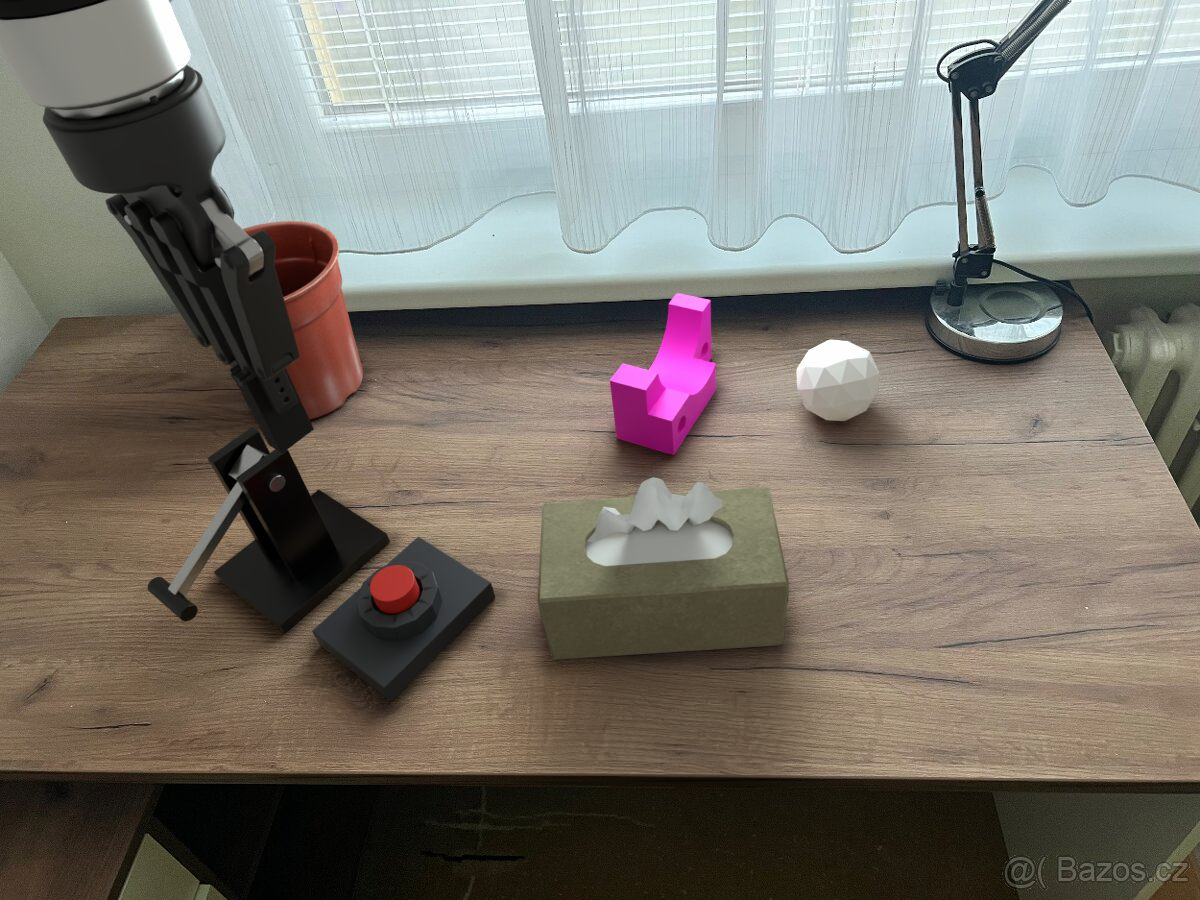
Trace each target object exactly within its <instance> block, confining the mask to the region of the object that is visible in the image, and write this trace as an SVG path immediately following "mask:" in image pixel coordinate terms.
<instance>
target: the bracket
mask: <svg viewBox="0 0 1200 900" xmlns="http://www.w3.org/2000/svg"><path fill="white" fill-rule="evenodd" d="M246 445H249V446H251V447H253V448H256V449H258V450H260V451H262V452H264V453H266V454H268V455H267V456H265V457H264V458H262V459H261V460H260V461H258V462H257V463H256V464H254V465H253V466H252V467H250V468H249V469H247V470H246V471H245V472H243V473H242V474H241V475H239V476H238V477H236V479H237V480H236V479H235V478H233V477H232V476H230V475H229V474H228V473H229V472H230V470H231V469H232V467H233V465H234V464H235V462H236V461H237V459H238V458H239V456H240V455H241V453H242V452H243V450H244V449H245V447H246ZM207 460H208V461H207V462H209V464H210V466H211V467H212V469H213V471H214V472H215V474H216V476H217V478H218V479H219V481H220V483H221V485H222V486H223V488H224V490H225V491H226V493H227V496H228V495H229V493H230V492H231V490H232V489H233V487H234V486H235V484H236V482H237V481H238V483H239V485H240V487H241V488H242V490H243V492H244V494H245V495H246V497H247V501H246V502H245V504H244V505H243V507H242V508H241V510H240V511H239V513H238V514H239V515H240V517H241V518H242V520H243V522H244V524H245V525H246V527H247V529H248V530H249V532H250V534H251V536H252V537H253V540H252V541H251V542H250V543H249V544H247V545H246V546H244V547H243V548H242V549H241V550H240V551H238V552H237V553H235V555H233V556H232V557H231V558H229V559H228V560H227V561H226V562H224V563H223V564H222V565H221V566H220V567H218V568H217V569H216V570H214V571H213V573H214V576H215V577H216V578H217V579H218V581H219V582H220V583H222V584H223V585H224V586H225V587H227V588H228V589H229V590H230V591H232V593H234V594H235V595H237V596H238V597H239V598H240V599H241V600H243V601H244V602H246V604H248V605H249V606H250V607H251V608H253V609H254V610H255V611H256V612H258V613H259V614H260V615H261V616H263V617H264V618H265V619H266V620H267V621H268V622H270V623H271V624H273V625H274V626H275V627H276V628H277V629H279V630H280V631H281V632H282V633H284V634H286V633H287V632H289V631H290V630H291V629H292V628H294V626H296V625H297V624H298V623H300V621H302V619H304V618H305V617H306V616H307V615H308V614H310V612H312V611H313V610H314V609H315V608H316V607H318V605H320V604H321V603H323V601H324V600H325V599H327V598H328V597H329V596H330V595H331V594H332V593H334V591H336V590H337V589H338V588H339V587H341V585H342V584H344V583H345V582H346V581H347V580H349V579H350V578H351V577H352V576H353V575H354V574H356V572H358V571H359V570H360V569H361V568H362V567H363V566H364V565H365V564H367V563H368V562H369V561H370V560H371V559H373V558H374V557H375V556H376V555H377V554H379V553H380V552H381V551H382V550H383V549H385V547H386V546H387V545H389V544H390V543H391V540H390V537H389V535H388V533H387V532H385V531H384V530H382V529H381V528H379V527H377V526H376V525H374V524H373V523H371V522H370V521H368V520H367V519H365V518H364V517H362V516H361V515H359V514H358V513H356V512H354V511H353V510H351V508H348V507H346V506H345V505H344V504H342V503H341V502H339V501H337V500H336V499H335V498H334V497H333V498H332V497H331V496H330V495H328V494H327V493H326V492H324V491H322V490H320V489H317V490H316V491H315V492H313V493H312V494H310V491H309V489H308V487H307V485H306V483H305V481H304V479H303V477H302V475H301V473H300V471H299V469H298V467H297V465H296V463H295V460H294V459H293V457H292V455H291V453H290V451H289V449H287V450H286V451H285V452H283V453H280V452H279V451H277V450H276V449H273V450H272V451H271V452H270V450H269V448H268V446H267V444H266V442H265V440H264V438H263V436H262V434H261V431H259V430H258V429H256V428H255V427H253V426H251V427H249V428H247V429H246V430H245V431H244V432H242V433H241V434H240V435H238V436H236V437H235V438H234V439H232V440H231V441H230V442H228V443H227V444H225V445H224V446H222V447H221V448H220V449H218V450H217V451H215V452H214V453H212V454H211V455H210V456H208V457H207Z"/></svg>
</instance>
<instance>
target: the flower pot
mask: <svg viewBox="0 0 1200 900" xmlns="http://www.w3.org/2000/svg"><path fill="white" fill-rule="evenodd" d="M242 229H243V230H244V231H245V232H246V233H247V234H248V235H249V236H251V235H253V234H254V233H256V232H258V231H260V230H263V231H265V232H267V233H268V235H269V236H270V237H271V238H272V240H273V242H274V244H275V248H276V252H275V269H276V273H277V276H278V280H279V283H280V287H281V290H282V294H283V298H284V301H285V305H286V308H287V312H288V315H289V319H290V322H291V326H292V329H293V333H294V337H295V340H296V344H297V347H298V351H299V354H300V358H299V359H298V360H296V361H295V362H293V363H292V364H290V365H289V366H288V367H286V370H287V372H288V374H289V376H290V378H291V380H292V383H293V385H294V387H295V389H296V391H297V393H298V395H299V398H300V400H301V402H302V404H303V406H304V408H305V411H306V413H307V415H308V417H309V419H310V420H313V419H317V418H320V417H323V416H325V415H328V414H330V413H332V412H334V411H335V410H337V409H339V408H340V407H342V406H343V405H344V404H345V402H346V400H347V398H349V396H350V395H352V394H355V393H357V391H358V390H359V388H360V387H361V385H362V381H363V377H364V370H363V369H364V368H363V365H362V362H361V359H360V354H359V350H358V346H357V343H356V338H355V335H354V332H353V327H352V324H351V320H350V316H349V313H348V308H347V304H346V300H345V297H344V292H343V289H342V286H343V277H342V272H341V268H340V265H339V255H340V246H339V241H338V239H337V237H336V235H335V234H334V233H333V232H332V231H331V230H330V229H328V228H326V227H324V226H322V225H319V224H316V223H315V222H309V221H303V220H301V221H300V220H299V221H298V220H282V221H281V220H280V221H274V222H273V221H271V222H266V223H260V224H256V225H252V226H248V227H245V228H242ZM228 366H229V368H230V369H231V368H232V367H231V365H230V364H229V365H228Z"/></svg>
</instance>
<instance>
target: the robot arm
mask: <svg viewBox="0 0 1200 900" xmlns="http://www.w3.org/2000/svg"><path fill="white" fill-rule="evenodd" d="M172 2H173V0H0V51H1V53H2V55H3V57H4V58H5V61H6V62H7V64H8V66H9V68H10V69H11V72H12V73H13V75H14V76H15V78H16V80H17V81H18V83H19V85H20V87H21V89H22V90H23V92H24V95H25V96H26V98H27V99H28V100H29V101H31V102H32V103H33V104H35V105H38V106H41V107H43V108H44V112H43V116H42V122H43V124H44V126H45V128H46V129H47V131H48V133H49V135H50V137H51V138H52V140H53V142H54V144H55V145H56V147H57V148H58V149H57V150H58V151H59V152H60V154H61V155H62V158H63V160H64V161H65V163H66V164H67V166H68V168H69V170H70V172H71V173H72V175H73V177H74V178H75V180H76V181H77V182H78V183H79V184H80V185H81V186H83V187H85V188H86V189H88V190H91V191H93V192H97V193H102V194H112V195H113V196H110V197H108V198H106V199H105V204H106V205H105V206H106V207H107V210H108V212H109V213H110V214H111V215H113V217H114V218H115V219H116V220H117V222H118V223H119V224H120V225H121V227H122V228H123V229H124V230H125V232H126V233H127V234H128V235H129V237H130V238H131V240H132V241H133V243H134V245H135V246H136V247H137V249H138V251H139V252H140V253H141V255H142V257H143V258H144V260H145V262H146V263H147V264H148V266H149V267H150V269H151V271H152V272H153V274H154V275H155V277H156V279H157V280H158V281H159V283H160V284H161V286H162V288H163V289H164V291H165V292H166V294H167V296H168V297H169V299H171V302H172V303H173V305H174V306H175V308H176V309H177V311H178V312H179V314H180V316H181V317H182V318H183V320H184V322H185V323H186V325H187V326H188V328H189V329H190V331H191V333H192V334H193V335H194V337H195V339H196V342H197V343H198V344H199V345H200V346H202V347H203V348H209V347H210V346H211V347H212V349H213V351H214V353H215V356H216V357H217V359H218V360H219V361H220V362H221V363H223V364H224V365H225V366H229V364H230V365H231V367H232V368H230V369H229V373H230V377H231V378H232V379H233V381H234V382H235V383H236V386H237V387H238V389H239V391H240V394H242V397H243V399H244V401H245V403H246V405H247V407H248V409H249V411H250V412H251V414H252V416H253V418H254V420H255V422H256V423H257V426H258V427H259V429H260V432H261V433H262V435H263V437H264V439H265V441H266V443H267V445H268V446H269V447H271V448H273V450H275V449H276V450H277V451H279V452H280V453H283V452H285V451H286V450H287V449H288V450H289V449H290V448H291V447H293V446H294V445H296V444H297V443H298V442H300V441H301V440H302V439H304V438H305V437H306V436H307V435H309V434H310V433H312V432H313V431H314V430H315V428H314V426H313V424H312V421H311V419H309V417H308V415H307V413H306V411H305V408H304V406H303V404H302V402H301V400H300V398H299V395H298V393H297V391H296V389H295V387H294V385H293V383H292V380H291V378H290V376H289V374H288V372H287V370H286V367H288V366H289V365H290V364H292V363H293V362H295V361H296V360H298V359H299V358H300V354H299V351H298V347H297V344H296V340H295V337H294V333H293V329H292V326H291V322H290V319H289V315H288V312H287V308H286V305H285V301H284V298H283V294H282V290H281V287H280V283H279V280H278V276H277V273H276V269H275V252H276V248H275V244H274V242H273V240H272V238H271V237H270V236H269V235H268V233H267V232H265V231H263V230H260V231H258V232H256V233H254V234H253V235H251V236H249V235H248V234H247V233H246V232H245V231H244V230H243V229H244V228H242V227H241V226H240V225H239V224H238V223H237V222H236V221H235V209H234V207H233V205H232V202H231V200H230V197H229V195H228V194H227V192H226V191H225V189H223V187H222V186H221V185H220V184H219V182H218V180H217V179H216V177H215V176H214V175H213V173H212V172H213V171H212V170H213V166H214V163H215V161H216V159H217V157H218V155H219V154H221V152H222V151H223V149H224V146H225V143H226V136H227V135H226V131H225V128H224V126H223V123H222V121H221V118H220V117H219V114H218V112H217V109H216V107H215V104H214V101H213V100H212V98H211V94H210V93H209V90H208V88H207V85H206V83H205V81H204V78H203V76H202V74H201V73H200V72H199V71H198V70H196V69H194V68H193V67H191V66H190V65H188V63H189V62H190V59H191V51H190V48H189V46H188V43H187V41H186V38H185V36H184V34H183V32H182V29H181V27H180V24H179V22H178V19H177V17H176V15H175V12H174V10H173V8H172V5H171V3H172Z"/></svg>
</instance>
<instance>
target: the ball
mask: <svg viewBox="0 0 1200 900" xmlns="http://www.w3.org/2000/svg"><path fill="white" fill-rule="evenodd" d="M795 371H796V388H797V392H798V394H799V397H800V398H801V401H802V404H803V406H804V409H805V410H807V411H809V412H811V413H813V414H814V415H816V416H818V417H819V418H822V419H824V420H825V421H835V422H846V421H848V420H850V419H852V418H855V417H856V416H858V415H861V414H863V413H865V412H866V411H867V410H868V409H869V408H870V405H871V404H872V402H873V401H874V400H875V398H876V396H877V395H878V393H879V392H880V371H879V368H878V366H877V364H876V363H875V360H874V358H873V356H872V353H871V352H870V351H869V350H868V349H865V348H863V347H860V346H858V345H856V344H854V343H853V342H850V341H848V340H838V339H829V340H826V341H824V342H822V343H820V344H818V345H816V346H815V347H812V348H811V349H808V351H807V352H806V353H805V355H804V357H803V359H802V360H801V362H800V364H798V366H797V368H796V370H795Z"/></svg>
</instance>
